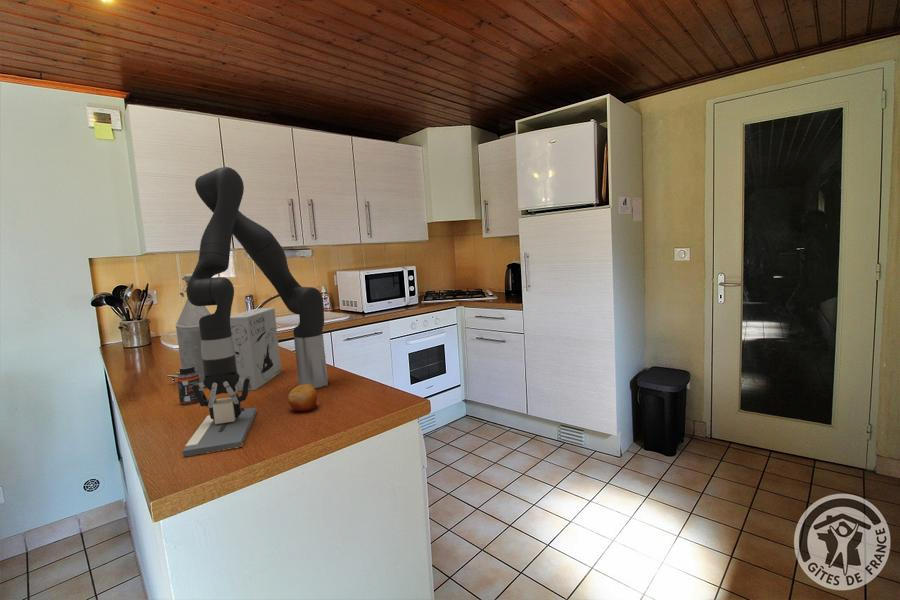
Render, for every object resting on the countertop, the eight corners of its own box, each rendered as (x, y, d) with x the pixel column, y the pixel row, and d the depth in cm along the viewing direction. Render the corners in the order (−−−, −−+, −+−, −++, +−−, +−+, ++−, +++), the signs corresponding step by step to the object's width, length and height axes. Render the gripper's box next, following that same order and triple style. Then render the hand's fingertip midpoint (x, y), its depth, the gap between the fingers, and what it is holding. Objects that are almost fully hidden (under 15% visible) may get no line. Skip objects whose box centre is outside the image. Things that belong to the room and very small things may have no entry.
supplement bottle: (191, 405, 135) (187, 369, 134) (175, 405, 136) (170, 369, 135) (206, 398, 141) (201, 364, 140) (190, 398, 142) (185, 364, 141)
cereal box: (256, 390, 147) (247, 316, 144) (233, 391, 147) (224, 317, 144) (281, 372, 168) (274, 307, 166) (262, 373, 169) (254, 308, 166)
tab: (237, 414, 119) (235, 396, 118) (234, 421, 114) (231, 402, 113) (219, 417, 118) (217, 399, 117) (215, 424, 113) (212, 405, 112)
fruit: (327, 398, 130) (317, 379, 125) (315, 420, 124) (303, 401, 119) (304, 396, 133) (293, 378, 128) (291, 418, 127) (278, 400, 122)
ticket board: (256, 412, 125) (255, 404, 125) (241, 447, 102) (240, 438, 102) (210, 419, 122) (209, 411, 122) (183, 457, 99) (182, 447, 99)
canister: (214, 374, 171) (201, 272, 166) (230, 382, 159) (217, 272, 154) (176, 383, 162) (162, 275, 157) (191, 391, 150) (175, 275, 145)
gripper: (250, 348, 119) (257, 409, 121) (192, 355, 115) (200, 417, 117) (246, 354, 112) (253, 419, 114) (183, 361, 108) (192, 428, 110)
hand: (226, 418), depth 116 cm, fingers closed on tab, 4 cm apart
